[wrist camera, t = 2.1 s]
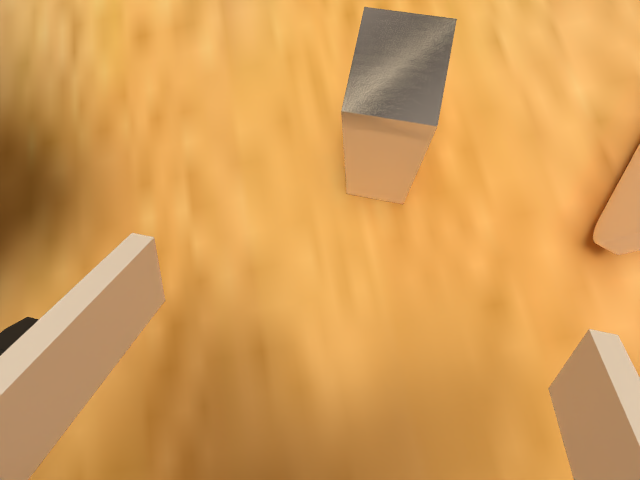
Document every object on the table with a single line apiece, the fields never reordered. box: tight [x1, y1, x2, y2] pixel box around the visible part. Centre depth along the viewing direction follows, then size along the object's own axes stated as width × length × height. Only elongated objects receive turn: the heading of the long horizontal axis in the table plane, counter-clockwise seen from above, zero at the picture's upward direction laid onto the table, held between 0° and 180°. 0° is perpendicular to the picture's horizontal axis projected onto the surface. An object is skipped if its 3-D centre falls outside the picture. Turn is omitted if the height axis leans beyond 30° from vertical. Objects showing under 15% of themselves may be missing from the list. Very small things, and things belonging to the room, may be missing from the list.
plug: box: [341, 7, 457, 204], centre depth 23 cm, size 4×5×12 cm
